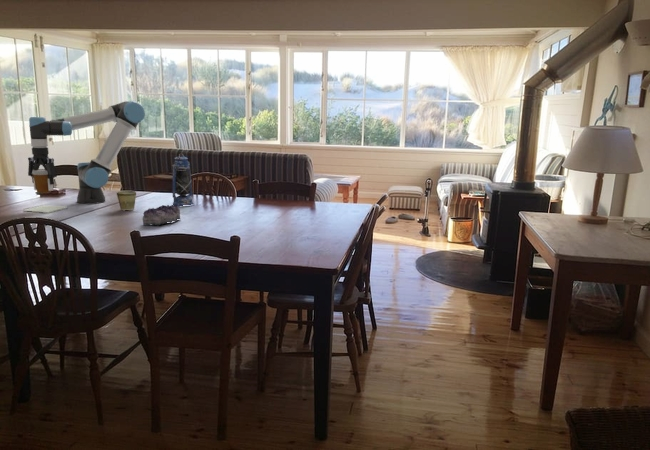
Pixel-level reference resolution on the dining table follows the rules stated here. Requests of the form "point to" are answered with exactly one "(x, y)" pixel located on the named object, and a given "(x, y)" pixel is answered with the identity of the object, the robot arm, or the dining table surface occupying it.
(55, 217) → the dining table surface
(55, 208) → the sage placemat
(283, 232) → the dining table surface
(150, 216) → the geode
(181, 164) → the lantern
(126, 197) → the yellow green plant pot
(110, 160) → the robot arm
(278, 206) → the dining table surface
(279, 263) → the dining table surface
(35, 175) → the disposable coffee cup
